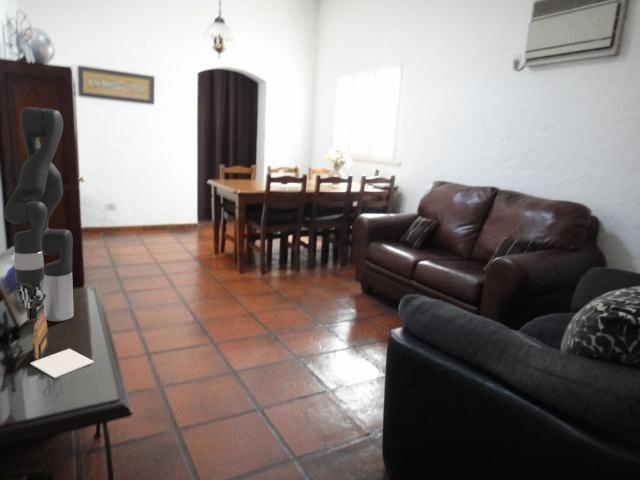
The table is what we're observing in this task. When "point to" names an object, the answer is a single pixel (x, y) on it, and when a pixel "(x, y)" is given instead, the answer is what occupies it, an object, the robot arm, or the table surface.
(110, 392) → the table surface
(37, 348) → the ammunition clip
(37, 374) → the table surface
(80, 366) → the mat
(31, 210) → the robot arm
